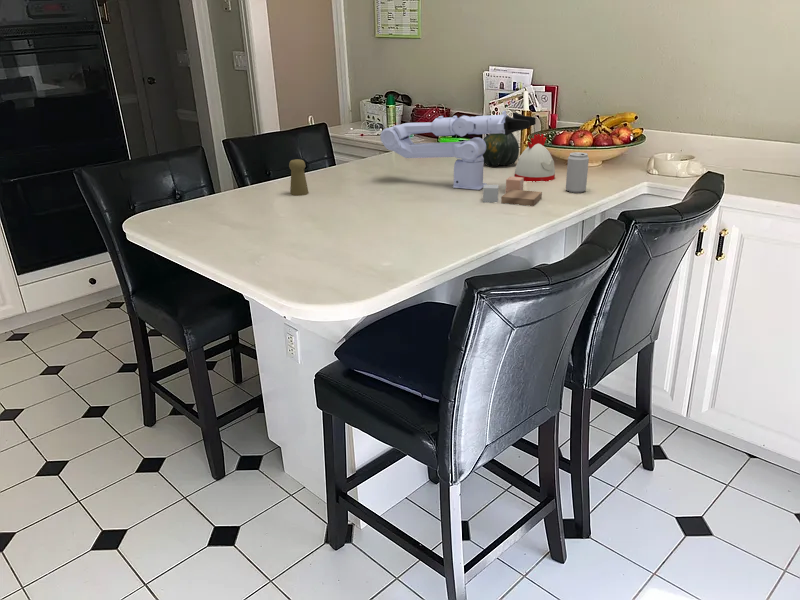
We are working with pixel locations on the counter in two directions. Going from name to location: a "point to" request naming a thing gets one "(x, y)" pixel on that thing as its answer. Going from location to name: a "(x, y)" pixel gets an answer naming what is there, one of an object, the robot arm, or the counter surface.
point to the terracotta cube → (514, 183)
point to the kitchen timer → (535, 161)
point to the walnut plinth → (521, 197)
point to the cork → (298, 178)
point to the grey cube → (490, 193)
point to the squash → (500, 149)
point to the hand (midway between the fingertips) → (532, 122)
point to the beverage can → (577, 172)
